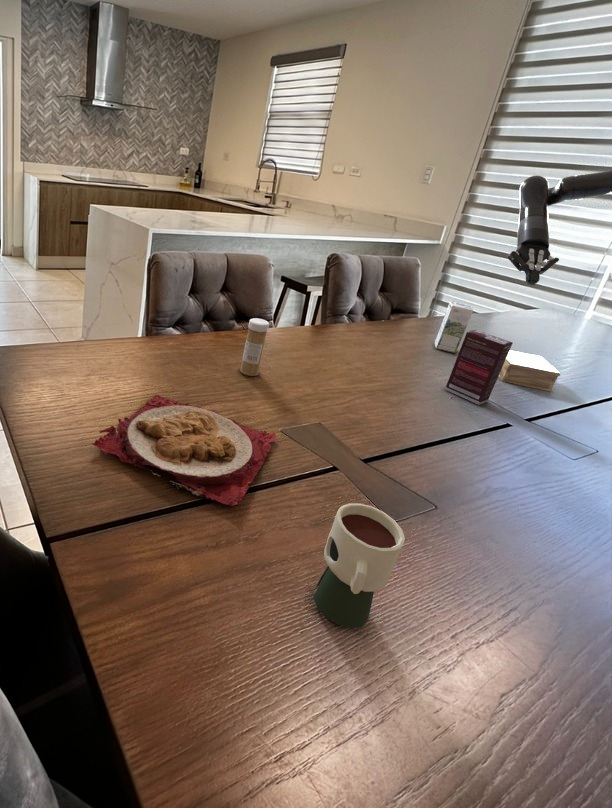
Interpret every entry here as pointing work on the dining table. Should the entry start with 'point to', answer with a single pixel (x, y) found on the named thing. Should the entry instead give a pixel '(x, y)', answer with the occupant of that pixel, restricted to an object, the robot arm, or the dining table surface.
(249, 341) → the sprinkles bottle
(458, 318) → the syrup box
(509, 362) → the box lid
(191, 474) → the plate with food
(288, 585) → the dining table surface
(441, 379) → the dining table surface
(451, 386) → the supplement box
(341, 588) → the character mug
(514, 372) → the box
